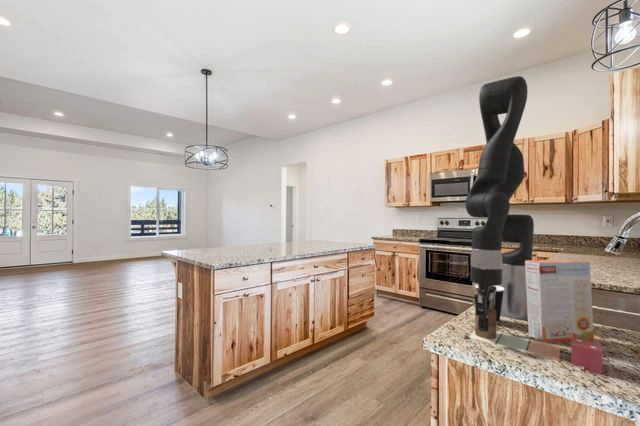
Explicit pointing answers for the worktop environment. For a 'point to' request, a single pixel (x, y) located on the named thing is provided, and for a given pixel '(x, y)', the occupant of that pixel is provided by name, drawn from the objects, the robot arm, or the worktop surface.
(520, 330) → the worktop surface
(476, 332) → the pawn
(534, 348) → the board
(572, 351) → the die
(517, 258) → the robot arm
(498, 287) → the dixie cup
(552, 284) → the cracker box
